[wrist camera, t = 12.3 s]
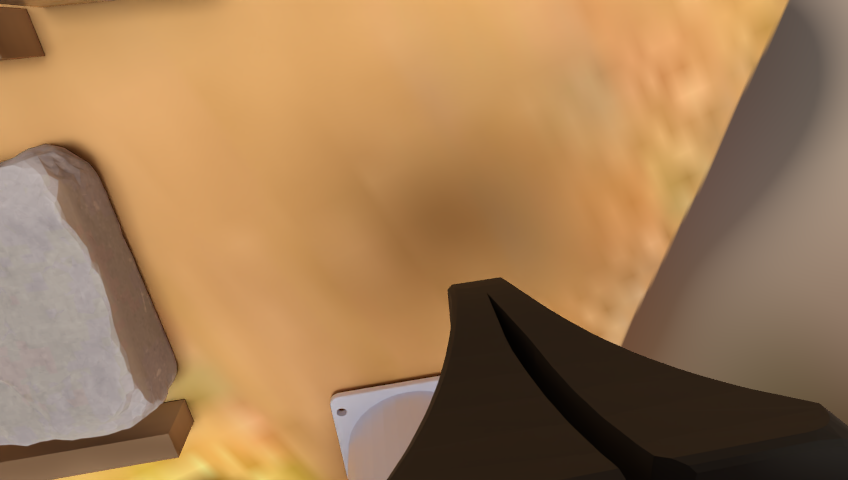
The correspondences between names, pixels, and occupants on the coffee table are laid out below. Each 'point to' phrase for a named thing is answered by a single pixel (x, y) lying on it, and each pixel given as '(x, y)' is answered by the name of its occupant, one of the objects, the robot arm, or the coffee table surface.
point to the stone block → (71, 308)
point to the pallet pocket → (144, 442)
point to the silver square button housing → (47, 2)
